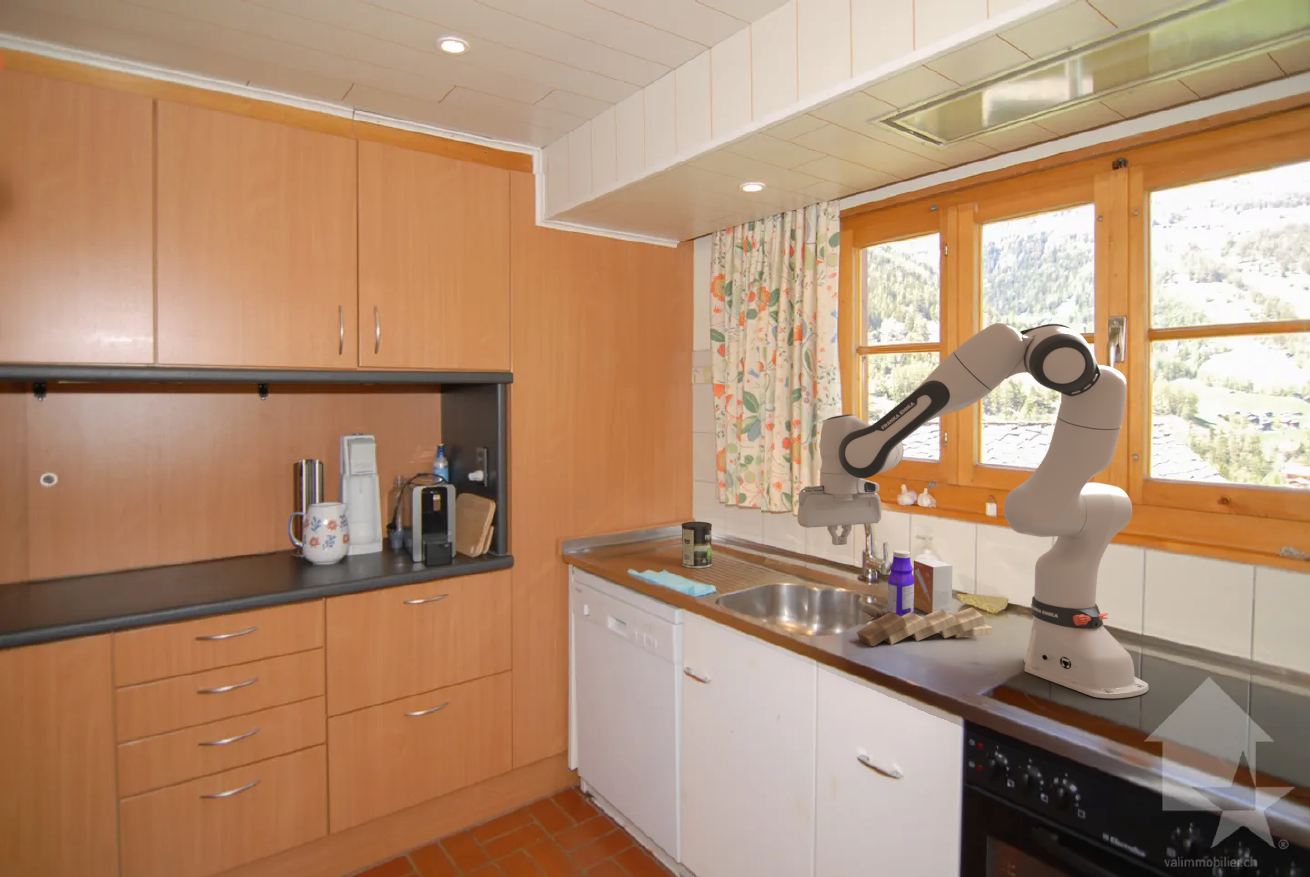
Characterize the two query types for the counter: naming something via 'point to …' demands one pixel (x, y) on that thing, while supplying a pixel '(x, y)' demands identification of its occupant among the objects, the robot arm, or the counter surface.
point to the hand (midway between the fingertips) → (839, 544)
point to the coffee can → (696, 545)
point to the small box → (932, 585)
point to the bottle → (901, 584)
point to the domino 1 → (881, 629)
